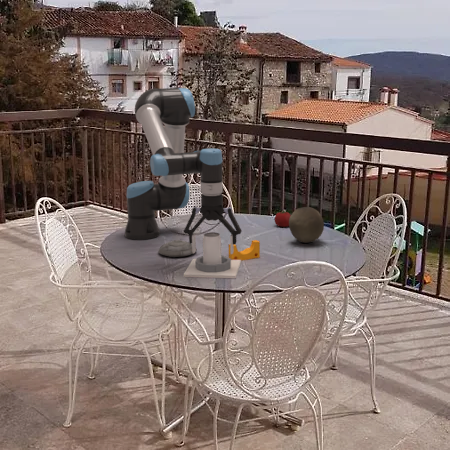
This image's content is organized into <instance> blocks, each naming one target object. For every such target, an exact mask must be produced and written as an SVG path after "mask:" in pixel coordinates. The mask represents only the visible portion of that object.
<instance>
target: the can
mask: <svg viewBox="0 0 450 450" xmlns="http://www.w3.org/2000/svg"><path fill="white" fill-rule="evenodd" d="M220 235H221V234H220V233H219V232H213V231H212V232H205V233H204V234H203V237H202V256H203V264H212V265H215V264H221V255H222V238H221V236H220Z"/></svg>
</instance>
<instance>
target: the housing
mask: <svg viewBox="0 0 450 450" xmlns="http://www.w3.org/2000/svg"><path fill="white" fill-rule="evenodd" d="M241 264H242V261H241V260H231V259H230V258H229V256H227V255H226V256H225V255H222V254H221V264H215V265H212V264H203V255H202V256H200V257H197V258H192V260H191V262H190V263H189V265H188V266H187V268H186V270H185V272H184V273H183V278H200V279H201V278H203V279H207V278H208V279H209V278H210V279H211V278H212V279H236V278H237V276H238V273H239V269H240V267H241Z"/></svg>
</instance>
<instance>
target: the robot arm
mask: <svg viewBox="0 0 450 450" xmlns="http://www.w3.org/2000/svg"><path fill="white" fill-rule="evenodd" d="M195 104H196V103H195V99H194V95H193V93H192V91H191V90H190V89H189V88H187V87H184V88H183V87H170V88H169V87H168V88H167V87H165V88H163V87H162V88H150V89H147V90H145V91H144V92H143V93H141V94H140V95H139V97H138V98H137V100H136V102H135V105H134V115H135V118H136V121H137V122H138V123H139V124H140V125H141V128H142V129H143V132H144V135H145V137H146V139H147V142H148V146H149V148H150V151H151V153H152V155H151V157H150V161H149V166H150V171H151V174H152V175H153V176H155V177H159V176H160V177H159V179H158V183H154V181H153V180H144V181H138V182H134V183H131V184H129V185H128V186H127V187H126V206H127V222H126V225H125V229H124V237H125V238H127V239H129V240H135V241H136V240H139V241H142V240H143V241H144V240H151V239H155V238H157V237H159V236H160V235H161V232H160V230H161V229H160V227H159V224H158V222H157V219H156V214H155V213H156V212H160V211H171V210H176V211H177V210H179V209H180V210H181V209H184V208H185V207H187V205H188V203H189V201H190V185H189V183H188V182H186V179H185V178H184V177H183V175H190V174H191V175H192V174H199V175H200V194H201V195H200V199H201V200H200V202H201V203H200V207H197V206H194V207H192V210H191V215H190V217H189V219H188V222H187V223H186V225H185V227H184V230H183V233H184V234H187V235H188V240H189V241H188V242H189V243H191V244H192V253H193V254H195V253H196V252H197V251H196V249H197V244H196V243H197V242H196V233H194V232H196V230H197V229H198V228H199V227H200V225H201V224H202V223H203V222H204V221H205V220H206V221H216V222H217V221H219V222H220V223H221V224H222V225H223V226H224V227H225V228H226V229H227V231H228V232H229V233H230V237H229V240H230V241H229V242H230V243H229V244H230V250H231V254H233V252H234V248H233V244H235V245H236V244H237V235H241V233H242V228H241V227H240V225H239V223H238V220H237V219H236V217H235V215H234V213H233V208H232V206H228V207H225V208H224V203H223V202H224V200H223V198H224V196H223V194H222V193H223V184H224V183H223V154H222V150H221V149H219V148H211V147H210V148H202V149H201V150H194V151H193V152H185V142H186V141H185V140H186V139H185V138H186V136H185V135H186V126H187V125H189V124H190V119H191V118H193V117H195V114H196V106H195ZM199 212H200V213H201V215H202V216H201V218H200V219H199V220H198V221H197V222H196V223H195V225H193V227H192V228H191V229H190V227H191V226H192V224H193V221H194V219H195V217H196V215H197V214H198V213H199ZM224 213H225V214H226V215H227V216H228V218H229V219H230V222H231V223H232V225H233V226H232V225H231V224H230V223H229V222H228V220H227V219H226V218H225V216H224V215H223V214H224ZM233 227H234V228H233Z"/></svg>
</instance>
